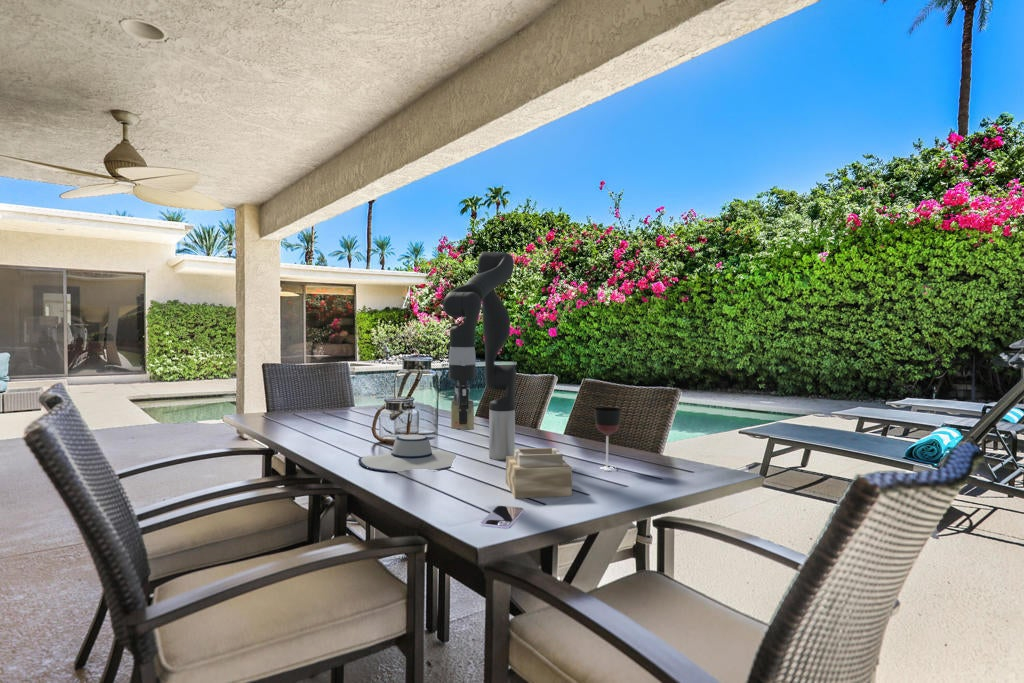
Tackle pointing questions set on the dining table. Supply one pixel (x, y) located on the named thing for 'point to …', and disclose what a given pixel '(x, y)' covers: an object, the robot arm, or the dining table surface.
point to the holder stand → (538, 473)
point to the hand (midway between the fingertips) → (462, 422)
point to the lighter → (455, 416)
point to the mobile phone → (502, 516)
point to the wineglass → (607, 425)
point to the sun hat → (410, 456)
